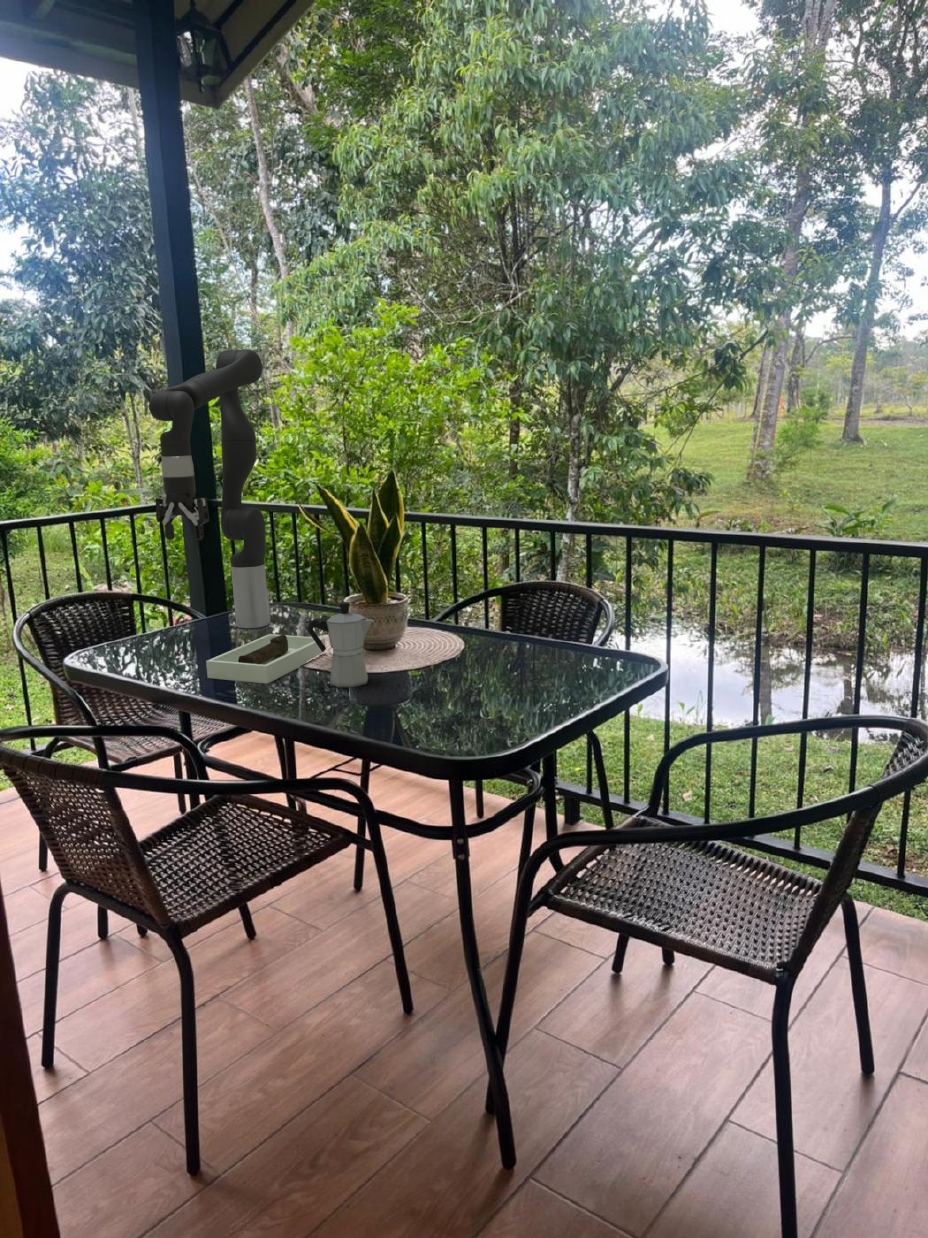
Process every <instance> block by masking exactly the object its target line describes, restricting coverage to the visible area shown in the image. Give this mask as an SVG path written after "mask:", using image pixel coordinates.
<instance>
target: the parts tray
mask: <svg viewBox="0 0 928 1238" xmlns="http://www.w3.org/2000/svg"><path fill="white" fill-rule="evenodd" d="M280 635H281V634H273V633H270V634H266V635H264V636H262V637H260V638H257V639H254V640H253V641H249V642H247V643H245V644H243V645H240V646H238V647H236V648H234V649H231V650H229V651H226V652H223V653H222V654H220V655H217V656H215V657H213V658H210V659H207V660H206V661H205V664H206V673H207V674H206V675H207V679H216V680H226V681H236V682H245V683H247V682H248V683H258V684H270V683H272V682H273V681H276V680H277V679H279V678H281V677H283V676H285V675H287V674H289V673H291V672H293V671H295V670H296V669H298V668H301V667H302V666H301V665H303V664H304V663H306V662H307V661H308V660H310V659H311V658H314V657H316V656H317V655H319V654H321V653H322V651H321V649H320V648H319V647H318V645H317V644H316V642H315V641H314V639H313V638H312V637H311V636H301V635H288V634H284V635H285V636H286V637H287V640H288V651H287V652H286V653H285V654H284V655H283V656H281V657H273V658H271V659H269V660H268V661H265V662H263V663H261V664H250V663H238V659H239V656H243V655H247V654H249V653H251V652H253V651H256V650H258V649H260V648H262V647H264V646H266V645H268V644H269V643H270V640H271V639H272V638H275V637H278V636H280ZM319 639H320V640H321V641H322V643H323V644H324V646H325V647H326V637H319ZM326 649H327V648H326ZM326 649H325V650H326ZM325 650H324V651H325ZM324 651H323V652H324ZM326 651H327V650H326ZM300 666H301V667H300ZM303 666H304V665H303Z"/></svg>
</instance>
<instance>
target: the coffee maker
mask: <svg viewBox="0 0 928 1238" xmlns="http://www.w3.org/2000/svg"><path fill="white" fill-rule="evenodd" d="M350 603H351V602H349V601H342V602H339V603H338V605H339V609H340V612H341V613H338V614H335V615H332V616H330V615H327V614H326V615H322V616H321V617H320V618H313V619H310V621H309V623H308V625H307V628H306V631H307V632H308V634H309V635H310V637H312V638H313V639H314V641H315V642H316V644H317V645H318V647H319V648H320V649H321V651H322V652H323V651H324V650H325V649H327V647H326V645H325V646H324V644H323V643H322V641H321V640H320V639H319V638H320V637H319V636H318V634H317V633H316V631H315V630H314V629H315V628H316V629H318V630H321V631H324V632H327V635H328V640H329V645H330V648H331V649H333V650H332V656H331V657H332V658H331V669H330V677H329V678H330V679H329V685H330V686H334V687H337V688H355V687H359V686H363V685H367V683H368V682H369V681H368V680H369V676H368V672H367V667H366V664H365V658H364V653H363V651H362V648H363V647H364V644H365V643H364V641H365V637H366V635H367V633H368V630H369V628H370V627H371V624H372V623H374V622H375V620H374V619H370V618H367V617H365V616H364V615H362V614H358V613H352V612H350V605H351V604H350Z"/></svg>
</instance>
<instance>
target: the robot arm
mask: <svg viewBox="0 0 928 1238" xmlns="http://www.w3.org/2000/svg"><path fill="white" fill-rule="evenodd" d="M262 374H263V363H262V360H261V357H260V355H259V354H258V353H257V352H256V351H254V350H252V349H247V348H245V349H244V348H241V349H226V350H222V351H220V352H219V353H218V355H217V357H216V363H215V369H212V370H210V371H205V372H203V373H199V374H197V375H195V376H193V377H191V378H189V379H187V380H186V381H183V382H182V383H180V384H177V385H173V386H170V387H167V388H164V389H163V388H162V389H161V390H159V391H157V392H155V393H154V394H153V395H152V396H151V398H150V399H149V402H148V408H149V412H150V414H151V416H152V417H153V418H154V419H156V420H158V421H161V422H172V426H171V428H170V430H168V431H164V432H162V433H161V434H160V436H159V441H160V453H161V472H162V473H161V474H162V484H163V492H164V494H165V495H166V497H158V498H155V502H154V503H155V516H156V522H157V523H162V525H164V534H165V535H164V536H165V537H166V540H169V541H171V540H175V539H176V536H175V535H176V534H175V527H174V526H175V525H174V524H173V523H174V521H175V518H177V517H179V516H181V517H186V518H188V520H191V522H192V523H193V534H194V541H197V542H198V541H202V540H203V538H204V536H205V534H204V524H206V523H208V522H210V513H209V506H208V499H207V498H206V497H201V498H196V491H197V490H196V489H197V488H196V480H195V470H194V462H193V457H192V448H191V441H190V440H191V433H192V426H193V421H194V415H195V410H196V409H199V408H201V407H203V406H204V405H206V404H208V403H210V402H211V401H214V399H217V398H218V397H219V407H220V408H219V410H220V426H221V427H220V428H221V430H220V431H221V432H220V433H221V434H220V437H221V438H220V440H221V441H220V442H221V443H220V444H221V460H222V462H221V463H222V466H221V467H222V489H221V490H222V491H221V492H222V493H221V507H220V508H221V509H220V528H221V532H222V534H223V536H224V538H226V539H227V540H228V541H229V540H230V541H240V542H241V541H242V542H243V547H242V550H241V551H239V552H237V553H234V554H232V555H231V556H230V569H231V579H232V580H231V581H232V591H233V592H232V593H233V601H234V602H233V604H234V615H235V624H236V625H235V626H236V628H240V629H256V628H262V627H266V626H268V625H270V622H272V618H271V607H270V595H269V594H270V593H269V589H268V588H267V587H268V585H267V578H266V576H267V575H266V563H265V558H266V552H267V541H266V537H267V536H266V521H265V516H264V514H263V512H262V511H261V510H260V509H259V508H258V507H249V506H248V507H246V506H242V501H243V499H242V497H243V489H244V486H245V484H246V482H247V481H248V478H249V476H250V474H251V472H252V470H253V468H254V467H255V465H256V460H257V437H256V433H255V430H254V428H253V426H252V424H251V422H250V421H249V419H248V417H247V416H246V414H245V412H244V410H243V408H242V406H241V403H240V397H239V388H240V387H243V386H248V385H251V384H255V383H257V382H258V381H259V380H260V378H261V377H262ZM167 507H168V508H167ZM196 507H197V508H196Z"/></svg>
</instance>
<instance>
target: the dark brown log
mask: <svg viewBox="0 0 928 1238" xmlns="http://www.w3.org/2000/svg"><path fill="white" fill-rule="evenodd" d="M279 635H280V636H278V637H275V638H272V639H271V640H270V643H269V644H268V645H266V646H264V647H262V648H260V649H258V650H256V651H253V652H251V653H249V654H247V655H243V656H239V659H238V663H250V664H261V663H263V662H265V661H268V660H269V659H271V658H273V657H281V656H283V655H284V654H285V653H286V652H287V651H288V640H287V637H286V636H285V635H286V634H279Z"/></svg>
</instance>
